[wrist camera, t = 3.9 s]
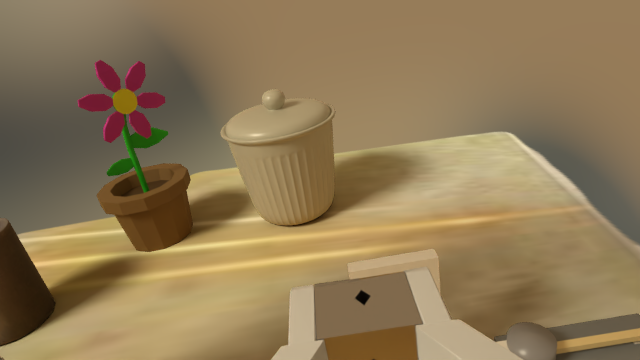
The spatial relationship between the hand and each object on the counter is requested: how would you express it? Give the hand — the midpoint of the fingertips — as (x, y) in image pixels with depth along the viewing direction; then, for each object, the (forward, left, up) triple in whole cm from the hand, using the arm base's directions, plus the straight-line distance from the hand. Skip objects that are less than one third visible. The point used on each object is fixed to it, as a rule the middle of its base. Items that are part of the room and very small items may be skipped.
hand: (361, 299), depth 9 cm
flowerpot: (-57, +29, -29) cm, 70 cm away
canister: (-38, +43, -29) cm, 64 cm away
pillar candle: (-60, +6, -29) cm, 67 cm away
